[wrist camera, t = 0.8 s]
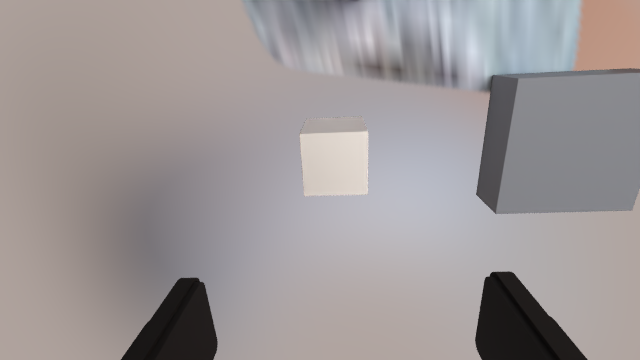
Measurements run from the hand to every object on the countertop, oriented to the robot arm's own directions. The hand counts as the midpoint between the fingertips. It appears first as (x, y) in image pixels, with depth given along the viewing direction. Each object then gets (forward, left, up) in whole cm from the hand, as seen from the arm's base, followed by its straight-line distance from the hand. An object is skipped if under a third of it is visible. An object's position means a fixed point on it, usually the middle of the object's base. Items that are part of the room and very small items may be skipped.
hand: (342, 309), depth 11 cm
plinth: (0, +19, -20) cm, 28 cm away
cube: (0, 0, -21) cm, 21 cm away
